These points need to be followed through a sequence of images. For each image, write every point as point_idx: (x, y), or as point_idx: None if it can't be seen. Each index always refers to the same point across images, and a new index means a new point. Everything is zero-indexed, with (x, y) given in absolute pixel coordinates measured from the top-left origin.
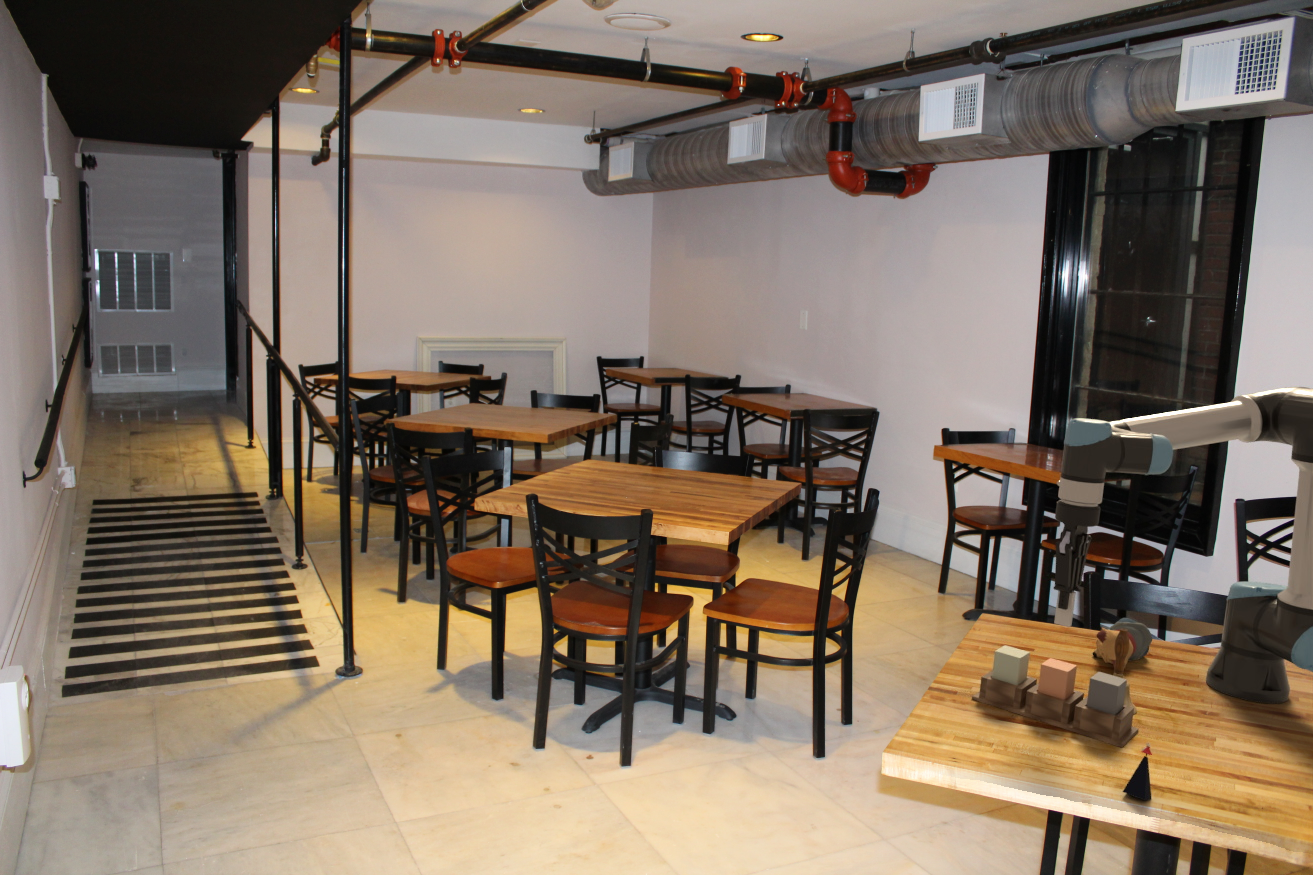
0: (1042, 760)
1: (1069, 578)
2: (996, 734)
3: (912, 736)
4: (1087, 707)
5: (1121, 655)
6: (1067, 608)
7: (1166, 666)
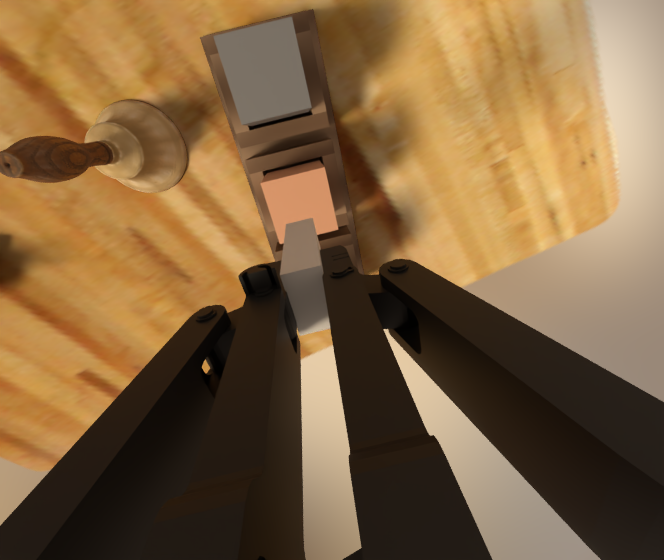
0: (493, 75)
1: (440, 296)
2: (456, 183)
3: (554, 238)
4: (313, 105)
5: (80, 147)
6: (320, 250)
7: None
